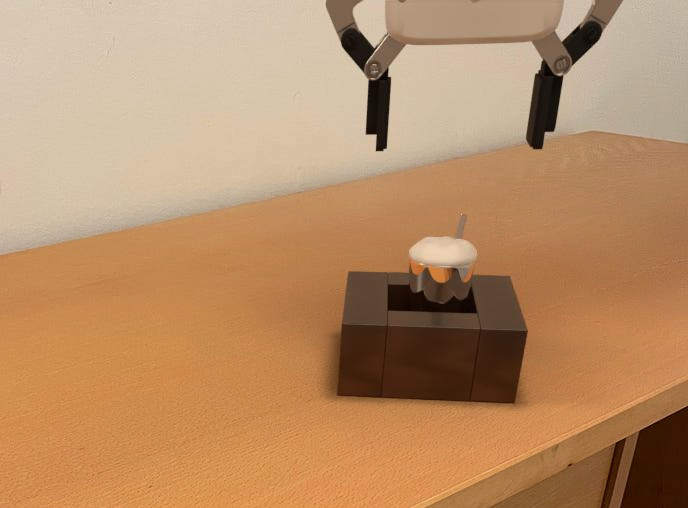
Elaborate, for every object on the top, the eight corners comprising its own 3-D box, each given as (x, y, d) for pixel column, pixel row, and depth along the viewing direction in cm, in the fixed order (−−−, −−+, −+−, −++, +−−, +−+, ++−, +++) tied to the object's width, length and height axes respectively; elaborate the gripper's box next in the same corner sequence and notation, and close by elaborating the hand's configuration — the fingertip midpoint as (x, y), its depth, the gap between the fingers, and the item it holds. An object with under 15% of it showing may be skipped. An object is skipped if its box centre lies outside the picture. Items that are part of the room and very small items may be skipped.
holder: (499, 341, 75) (510, 275, 72) (515, 403, 66) (528, 329, 63) (343, 335, 77) (348, 270, 74) (336, 395, 67) (341, 323, 64)
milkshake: (474, 361, 72) (496, 218, 66) (445, 384, 68) (465, 235, 62) (418, 350, 74) (434, 210, 68) (387, 372, 70) (400, 226, 65)
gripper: (328, -200, 51) (318, 160, 61) (678, -222, 48) (606, 157, 58) (334, -189, 57) (325, 137, 67) (647, -209, 54) (587, 133, 64)
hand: (456, 146), depth 63 cm, fingers open, 9 cm apart
